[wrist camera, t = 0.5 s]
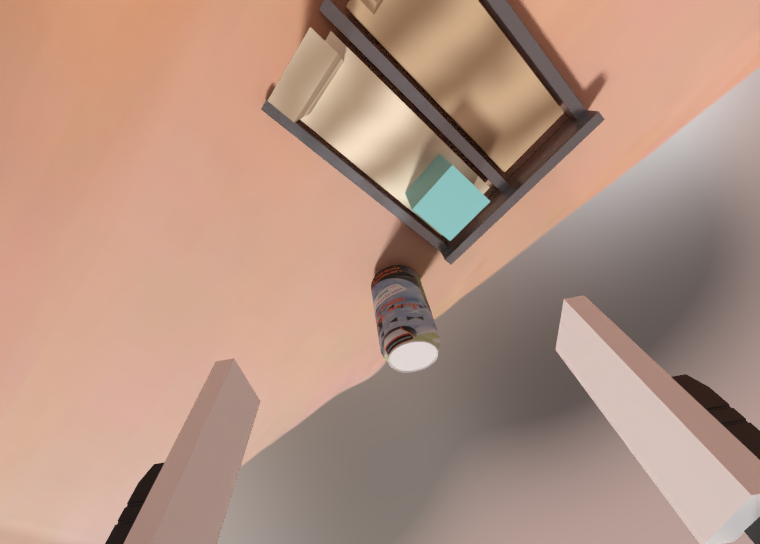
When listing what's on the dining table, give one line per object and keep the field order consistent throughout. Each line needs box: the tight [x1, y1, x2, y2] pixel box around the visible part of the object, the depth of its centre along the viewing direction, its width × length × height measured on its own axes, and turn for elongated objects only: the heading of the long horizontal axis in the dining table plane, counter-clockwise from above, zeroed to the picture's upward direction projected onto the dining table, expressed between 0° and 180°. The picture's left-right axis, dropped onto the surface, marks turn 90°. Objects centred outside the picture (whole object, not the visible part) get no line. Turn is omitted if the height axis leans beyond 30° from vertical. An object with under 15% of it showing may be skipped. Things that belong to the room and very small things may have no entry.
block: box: [405, 154, 491, 241], centre depth 30 cm, size 5×5×5 cm
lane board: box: [261, 0, 604, 264], centre depth 28 cm, size 24×19×3 cm
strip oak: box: [346, 0, 564, 172], centre depth 24 cm, size 20×7×9 cm, turn 50°
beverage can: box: [371, 265, 440, 372], centre depth 34 cm, size 6×7×12 cm
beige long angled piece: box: [268, 27, 490, 236], centre depth 27 cm, size 20×7×9 cm, turn 50°
